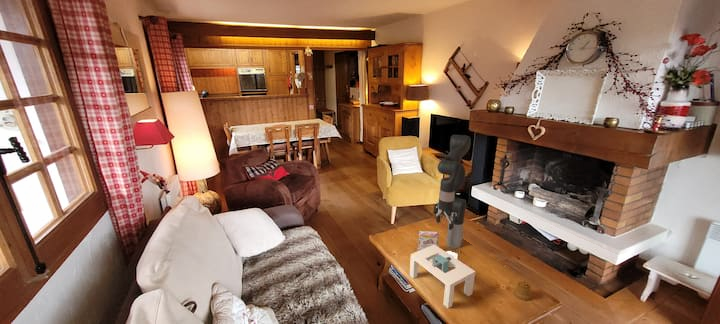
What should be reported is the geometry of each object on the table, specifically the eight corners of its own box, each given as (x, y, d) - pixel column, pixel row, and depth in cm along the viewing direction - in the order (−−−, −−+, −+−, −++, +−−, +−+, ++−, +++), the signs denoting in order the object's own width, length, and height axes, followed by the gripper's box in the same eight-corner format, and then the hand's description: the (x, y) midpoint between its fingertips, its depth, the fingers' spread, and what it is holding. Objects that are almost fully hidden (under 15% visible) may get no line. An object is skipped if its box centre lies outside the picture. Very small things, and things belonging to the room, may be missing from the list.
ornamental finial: (533, 299, 145) (521, 302, 143) (522, 289, 151) (510, 292, 149) (536, 286, 142) (524, 289, 140) (524, 276, 149) (512, 279, 147)
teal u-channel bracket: (439, 269, 156) (439, 254, 154) (448, 275, 151) (448, 260, 149) (433, 271, 154) (434, 257, 152) (442, 278, 149) (443, 262, 147)
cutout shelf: (432, 264, 171) (434, 242, 166) (472, 294, 148) (475, 269, 144) (409, 275, 162) (410, 252, 157) (447, 308, 139) (450, 282, 135)
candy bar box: (418, 258, 177) (419, 234, 172) (417, 253, 182) (418, 230, 177) (436, 259, 176) (438, 235, 171) (435, 254, 181) (437, 231, 176)
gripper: (462, 201, 143) (460, 229, 148) (441, 191, 154) (439, 218, 159) (452, 205, 139) (450, 234, 144) (431, 194, 150) (429, 222, 156)
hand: (444, 225), depth 152 cm, fingers open, 8 cm apart
